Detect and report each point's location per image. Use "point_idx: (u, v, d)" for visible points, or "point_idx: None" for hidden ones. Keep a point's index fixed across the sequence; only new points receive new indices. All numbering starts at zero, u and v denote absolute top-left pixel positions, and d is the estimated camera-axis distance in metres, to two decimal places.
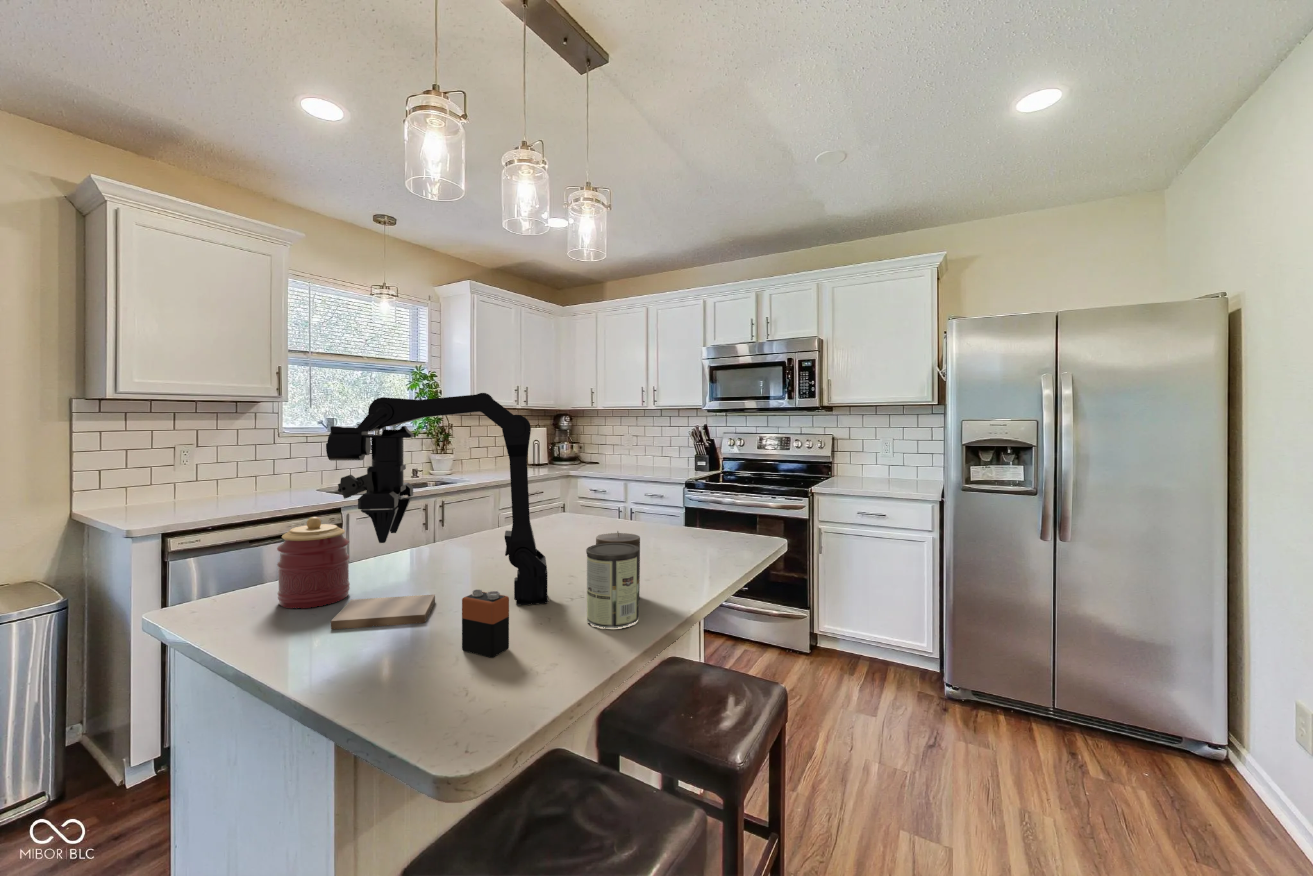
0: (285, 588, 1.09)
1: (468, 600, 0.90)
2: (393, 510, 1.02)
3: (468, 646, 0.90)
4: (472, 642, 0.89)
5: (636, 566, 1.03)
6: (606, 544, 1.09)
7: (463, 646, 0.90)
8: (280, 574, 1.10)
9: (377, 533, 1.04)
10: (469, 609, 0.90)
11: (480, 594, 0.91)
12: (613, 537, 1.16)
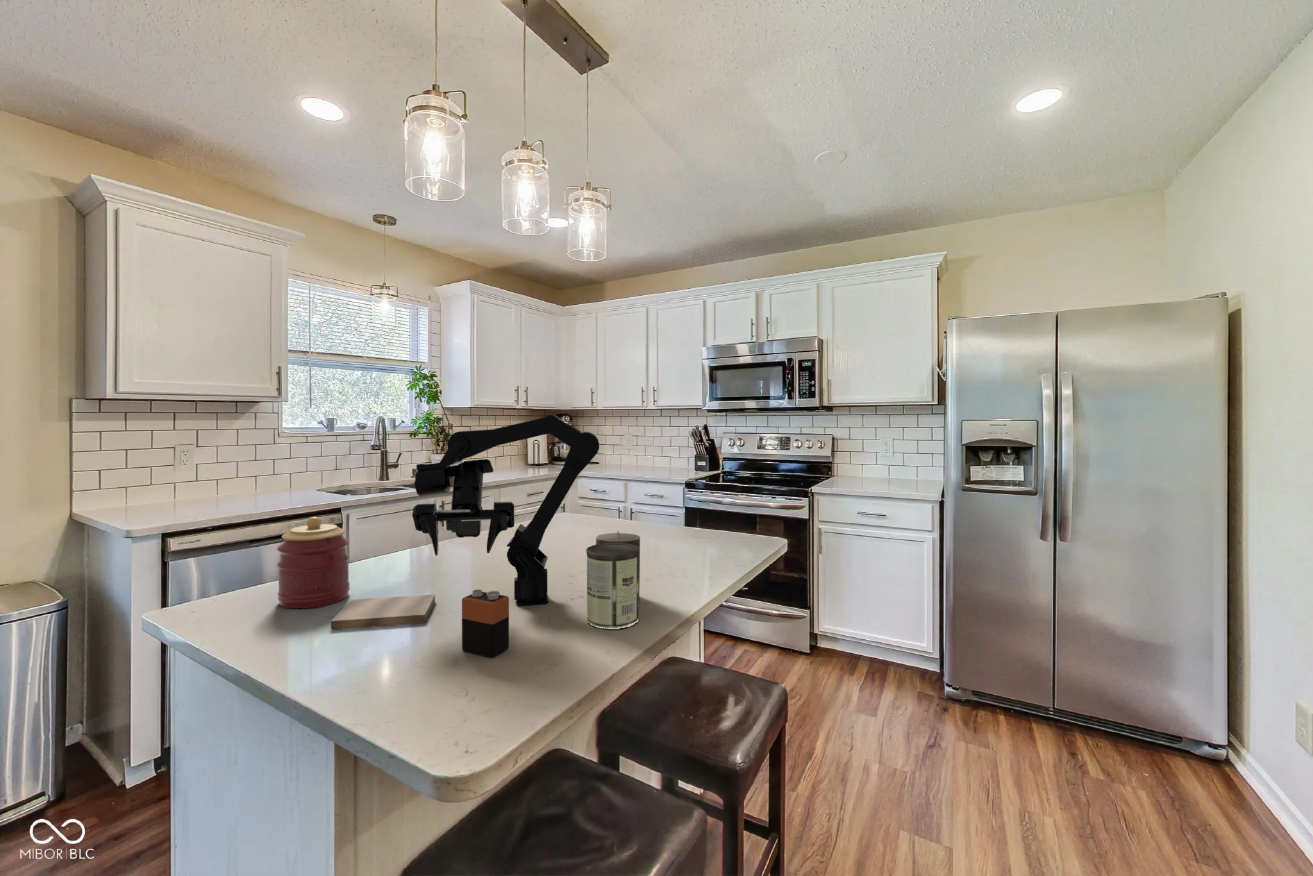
0: (285, 588, 1.09)
1: (468, 600, 0.90)
2: (420, 516, 1.02)
3: (468, 647, 0.90)
4: (472, 642, 0.89)
5: (636, 566, 1.03)
6: (606, 544, 1.09)
7: (463, 646, 0.90)
8: (280, 574, 1.10)
9: None
10: (469, 609, 0.90)
11: (480, 594, 0.91)
12: (613, 537, 1.16)
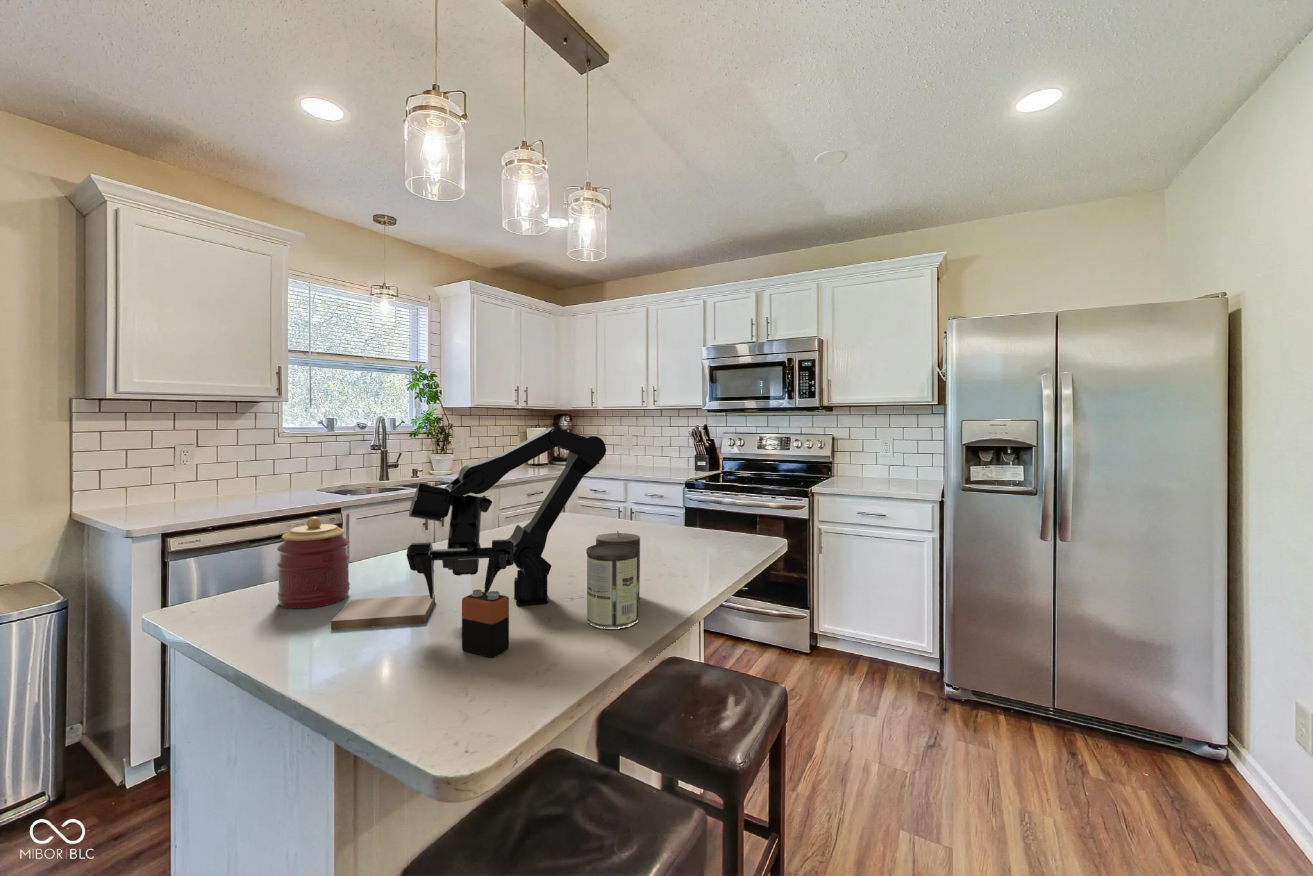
0: (285, 588, 1.09)
1: (468, 600, 0.90)
2: (414, 557, 0.98)
3: (468, 647, 0.90)
4: (472, 642, 0.89)
5: (636, 566, 1.03)
6: (606, 544, 1.09)
7: (463, 646, 0.90)
8: (280, 574, 1.10)
9: None
10: (469, 609, 0.90)
11: (480, 594, 0.91)
12: (613, 537, 1.16)
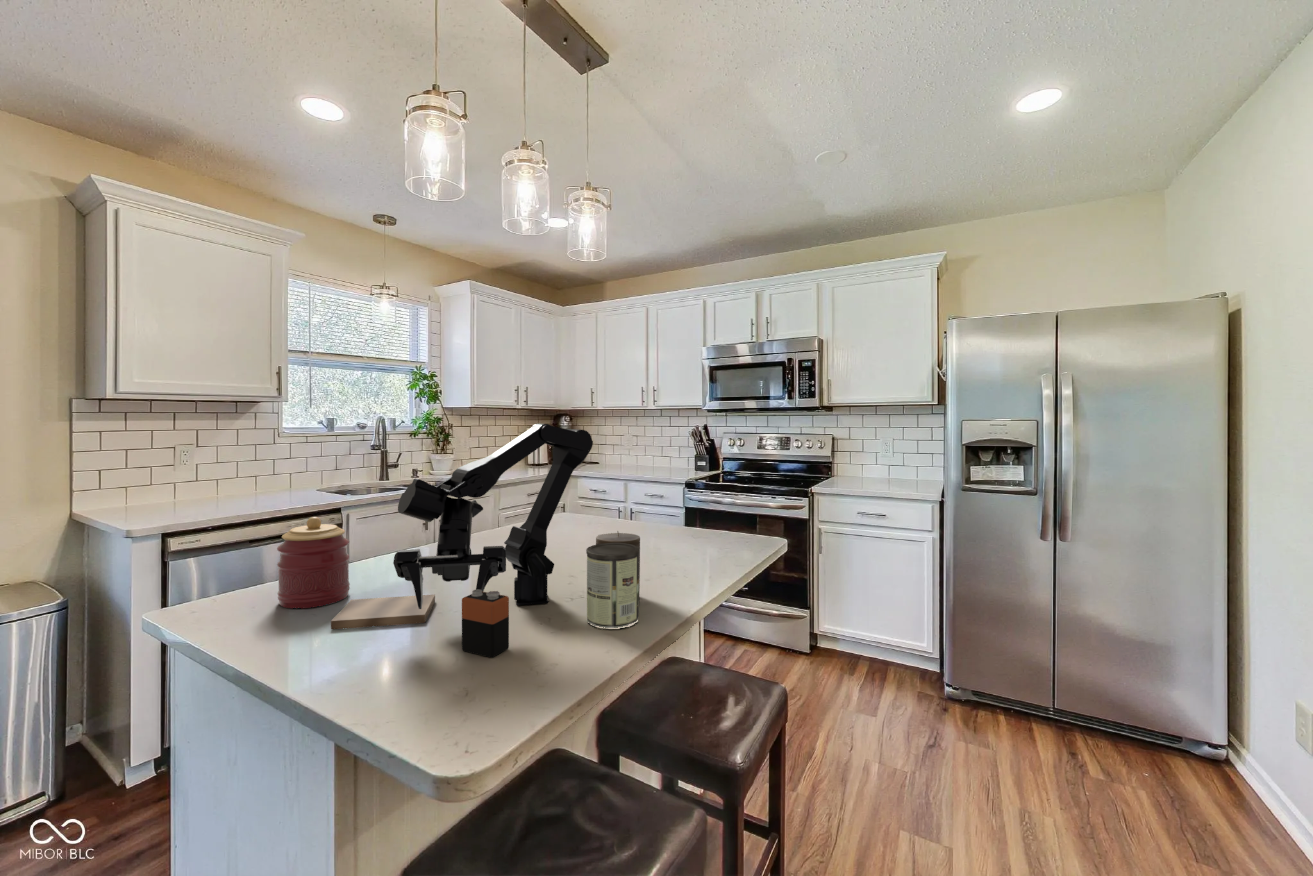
0: (285, 588, 1.09)
1: (468, 600, 0.90)
2: (402, 565, 0.93)
3: (468, 647, 0.90)
4: (472, 642, 0.89)
5: (636, 566, 1.03)
6: (606, 544, 1.09)
7: (463, 646, 0.90)
8: (280, 574, 1.10)
9: None
10: (469, 609, 0.89)
11: (480, 594, 0.91)
12: (613, 537, 1.16)
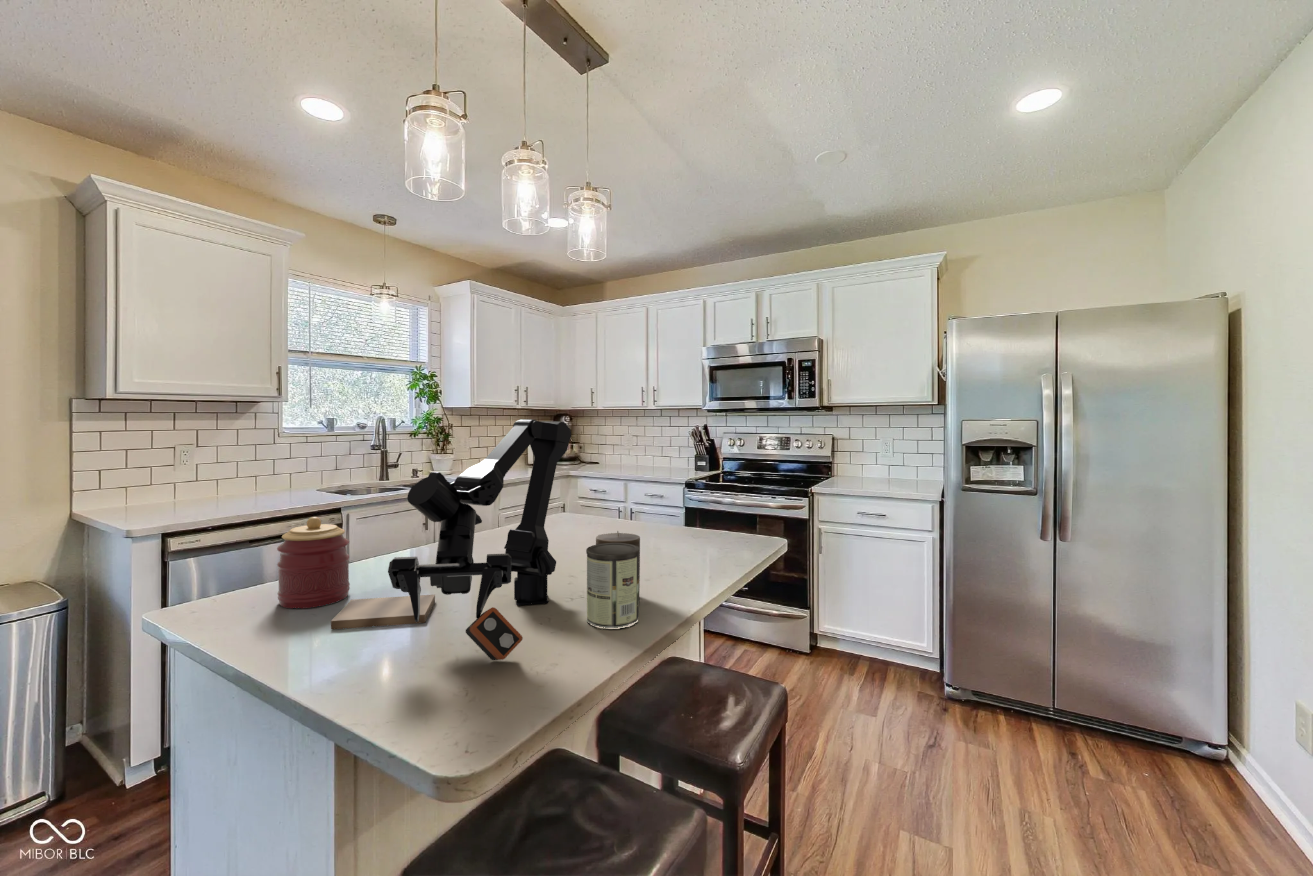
0: (285, 588, 1.09)
1: (479, 636, 0.80)
2: (398, 573, 0.85)
3: (471, 638, 0.86)
4: (476, 642, 0.85)
5: (636, 566, 1.03)
6: (606, 544, 1.09)
7: (467, 633, 0.86)
8: (280, 574, 1.10)
9: None
10: (478, 637, 0.81)
11: (493, 628, 0.80)
12: (613, 537, 1.16)
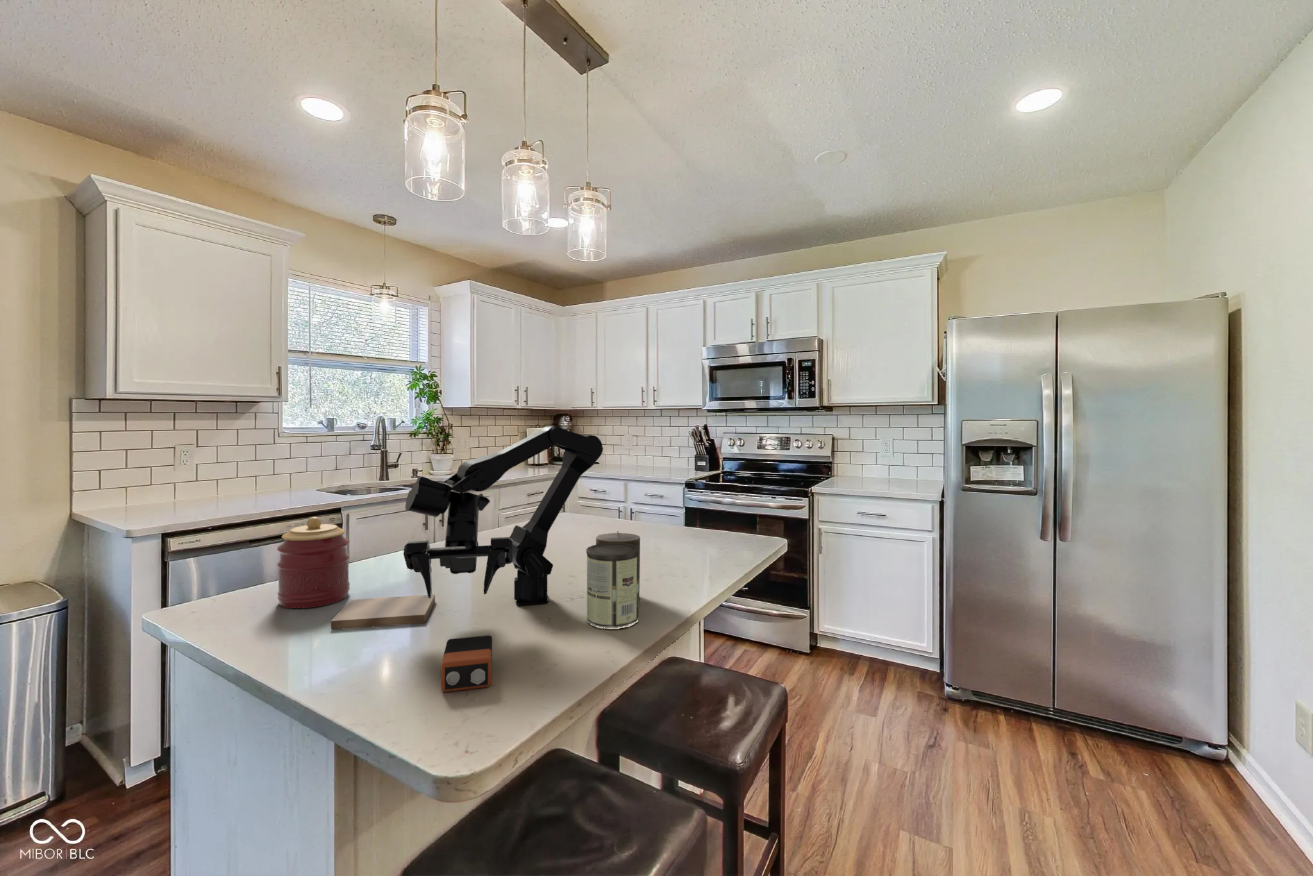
0: (285, 588, 1.09)
1: None
2: (411, 556, 0.96)
3: None
4: None
5: (636, 566, 1.03)
6: (606, 544, 1.09)
7: None
8: (280, 574, 1.10)
9: None
10: None
11: (458, 678, 0.77)
12: (613, 537, 1.16)
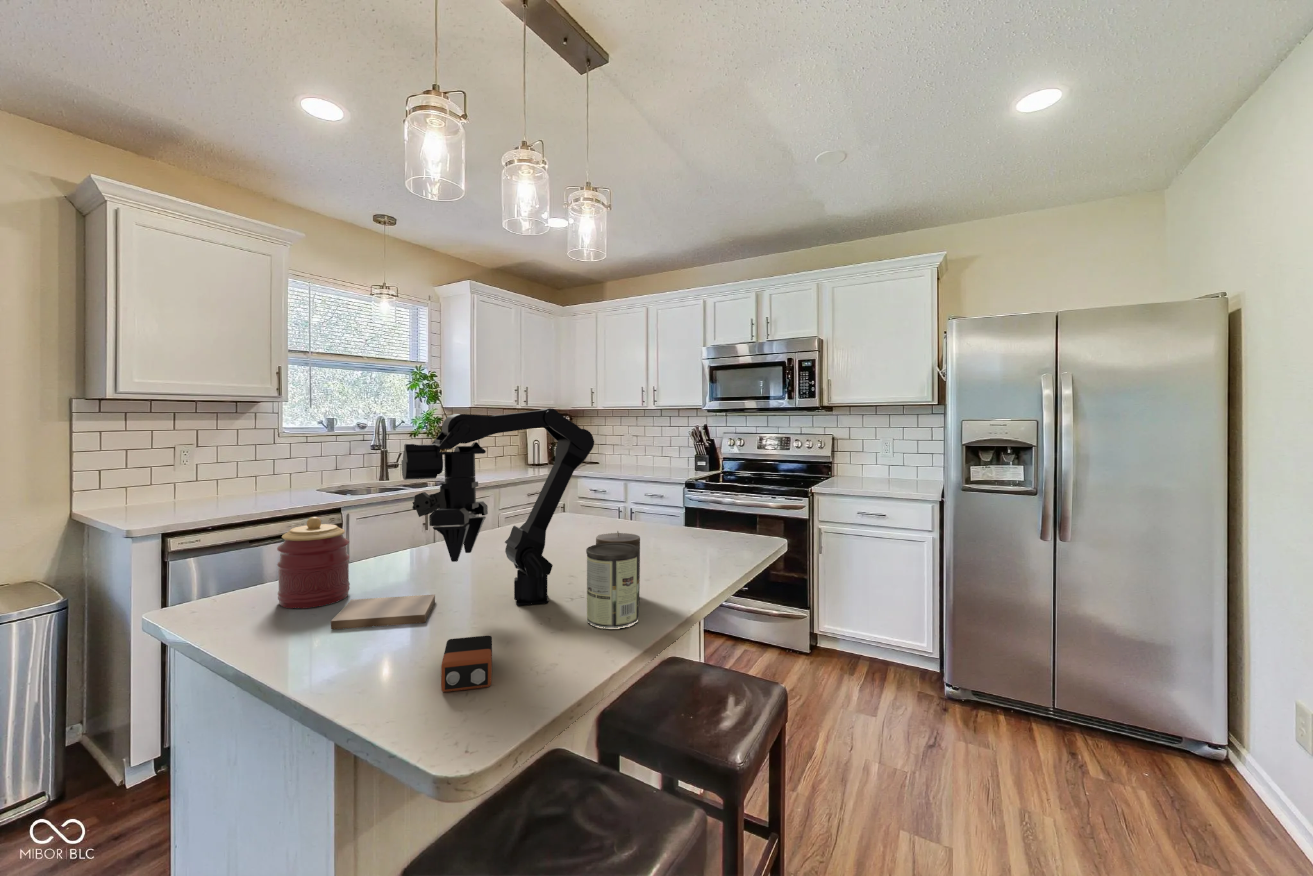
0: (285, 588, 1.09)
1: None
2: (463, 527, 0.99)
3: None
4: None
5: (636, 566, 1.03)
6: (606, 544, 1.09)
7: None
8: (280, 574, 1.10)
9: (449, 551, 1.01)
10: None
11: (458, 678, 0.77)
12: (613, 537, 1.16)
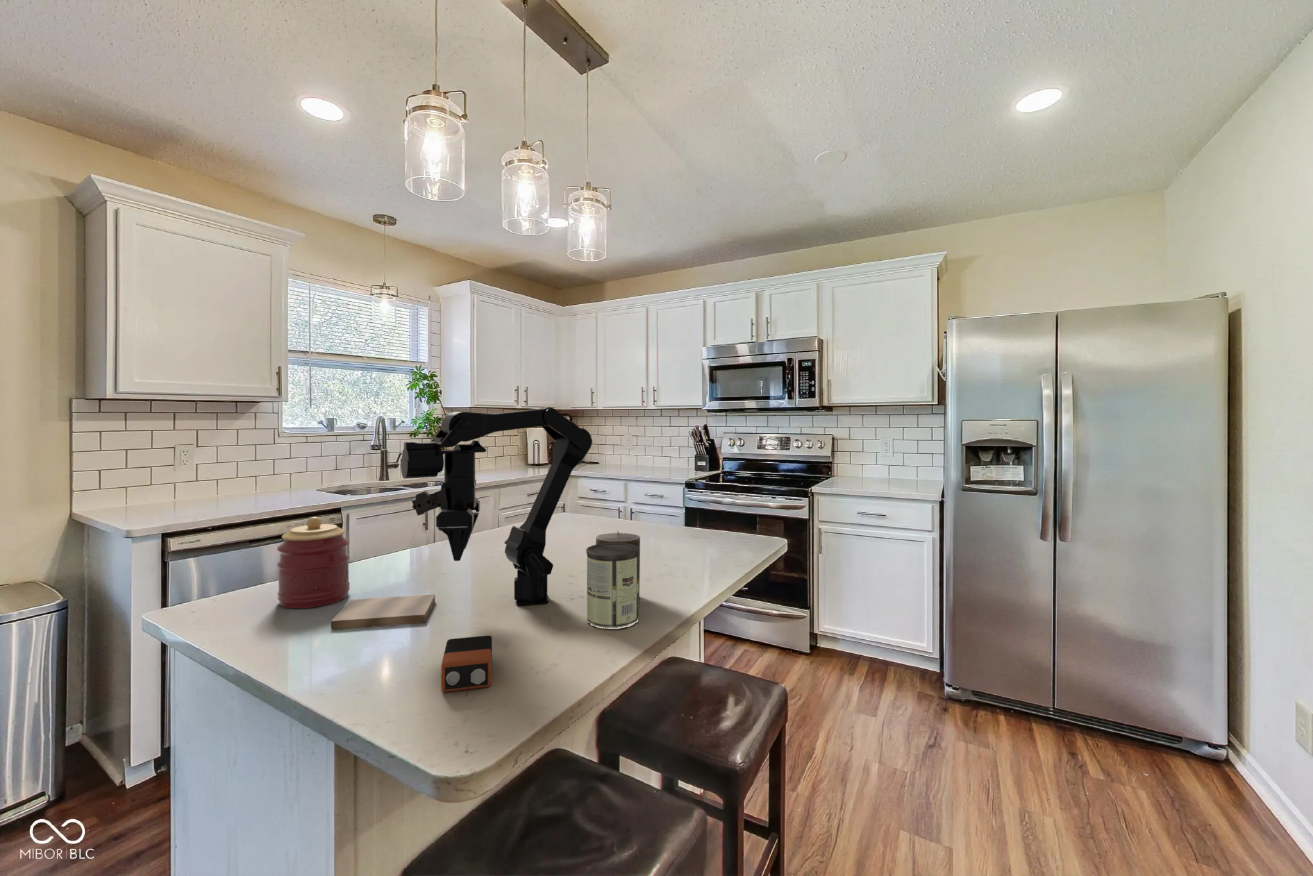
0: (285, 588, 1.09)
1: None
2: (470, 528, 1.00)
3: None
4: None
5: (636, 566, 1.03)
6: (606, 544, 1.09)
7: None
8: (280, 574, 1.10)
9: (452, 551, 1.01)
10: None
11: (458, 678, 0.77)
12: (613, 537, 1.16)
